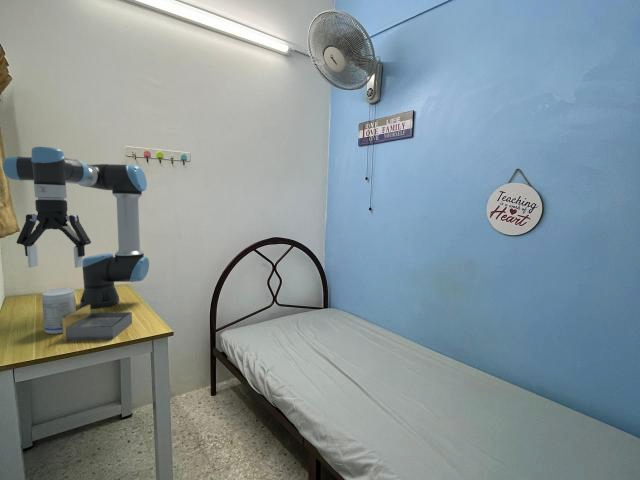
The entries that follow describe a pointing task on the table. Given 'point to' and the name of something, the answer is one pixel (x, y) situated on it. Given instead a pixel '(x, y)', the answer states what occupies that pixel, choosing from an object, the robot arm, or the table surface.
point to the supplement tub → (57, 308)
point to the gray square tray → (94, 325)
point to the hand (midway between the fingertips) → (56, 266)
